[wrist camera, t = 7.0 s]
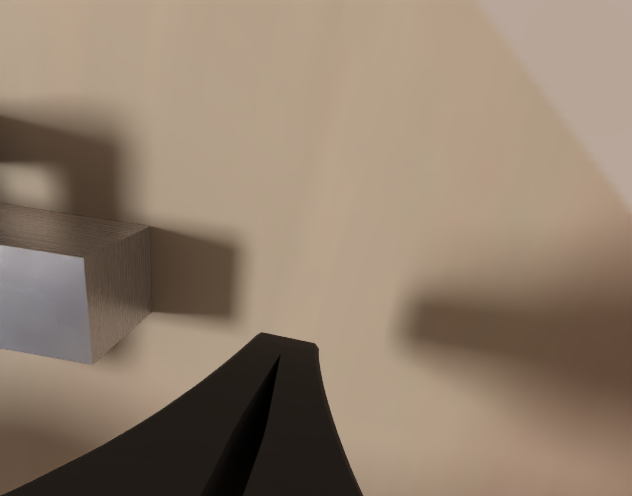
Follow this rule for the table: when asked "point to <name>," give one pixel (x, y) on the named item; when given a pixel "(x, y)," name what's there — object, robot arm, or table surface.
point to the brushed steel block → (70, 282)
